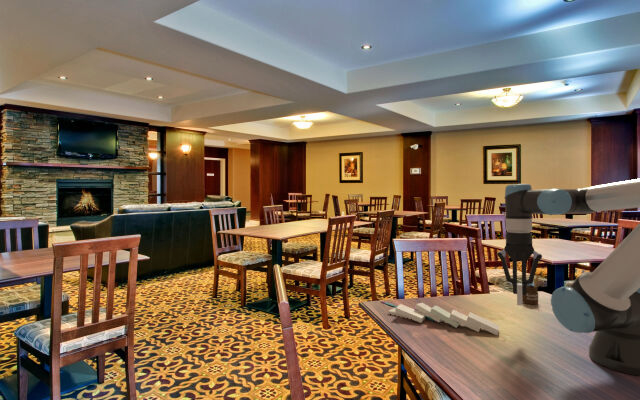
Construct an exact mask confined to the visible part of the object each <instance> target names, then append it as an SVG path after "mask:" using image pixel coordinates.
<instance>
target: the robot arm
mask: <svg viewBox="0 0 640 400" xmlns="http://www.w3.org/2000/svg"><path fill="white" fill-rule="evenodd" d="M504 191H505V192H504V207H505V220H504V221H505V222H504V223H505V230H506V233H505V246H504V248H503V249H502V250H500V251H498V252H497V256H498V258H499V259H500V262H501V265H502V268H503V269H502V270H503V272H504V277H505V280H506V282H509V283H511V284H512V293H513V294H514V295H516V306H521V307H522V306H523V304H524V303H523V298H522V295H526V294H527V292H526V286H527V285H531V284H533V283H534V281H535V277H536V272H537V270H538V269H537V268H538V265H539V262H540V260H541V259H542V258H543V254H541V253H538V252H537V251H535V247H534V246H533V233H532V231H533V214H535V215H548V216H554V215H555V216H557V215H564V214H565V215H568V214H574V215H575V214H583V215H584V214H585V215H586V214H593V213H596V212H597V213H598V212H605V211H616V210H617V211H618V210H627V209H638V208H640V178H637V179H636V178H635V179H631V180H630V179H629V180H625V181H624V180H623V181H618V182H611V183H606V184H605V183H604V184H598V185H594V186H589V187H587V186H586V187H581V188H569V189H568V188H552V187H551V188H544V189H543V188H542V189H541V188H540V189H532V185H531V184H530V183H518V184H517V183H516V184H514V183H513V184H507V185H506V186H505V190H504ZM506 255H508V257H509V258H510V260H512V261H511V262H512V263H511V264H512V277H511V275H510V273H511V272H510V270H509V267H508V263H507V260H506V259H507V258H506ZM531 256H532V258H533V262H532V265H531V269H530V273H529V277H528V278H527V261H528V259H530V257H531ZM518 261H520V262H521V283H519V282H518ZM550 305H551V307H552V308H551V310H552V312H553V314H554V316H555V318H556V320H557V321H558V322H559V324H560V325H561V326H563V328H565V329H566V330H568V331H570V332H573V333H577V334H590V333H593V332H594V335H593V338H592V339H591V342H590V344H589V346H588V357H589V358H590V359H591V360H592V361H594V362H595V363H597V364H599V365H600V366H602V367H605V368H608V369H610V370H612V371H616V372H620V373H624V374H627V375H632V376H633V375H634V376H640V222H639V223H638V224H637V225H636V226H635V227H634V229H632V231H631V232H630V233H629V234H628V235H627V236H626V237H625V238H623V240H622V241H621V242H620V243H618V245H617V246H616V247H615V248H614V249H613V250H612V251H611V253H609V254H608V255H607V257H606V258H605V259H604V260H602V262H601V263H600V264H599V265H598V266H597V267H596V268H595V269H594V270H593V271H586V272H582V273H581V274H579V275H578V276H577V278H576V279H575V280H574V281H573V282H572V283H571V284H570V285H568V286H564V285H563V286H561V287H559V288H556V289H555V290H554V291H553V292H552V294H551V296H550Z"/></svg>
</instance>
